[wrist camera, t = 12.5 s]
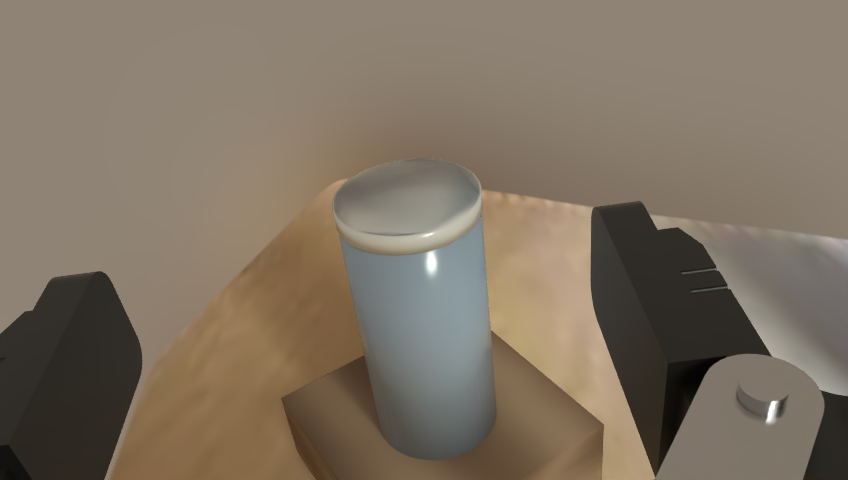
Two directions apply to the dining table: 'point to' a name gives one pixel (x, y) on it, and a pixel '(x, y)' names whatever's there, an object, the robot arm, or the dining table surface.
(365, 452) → the block
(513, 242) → the dining table surface
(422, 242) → the tumbler
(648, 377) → the robot arm
